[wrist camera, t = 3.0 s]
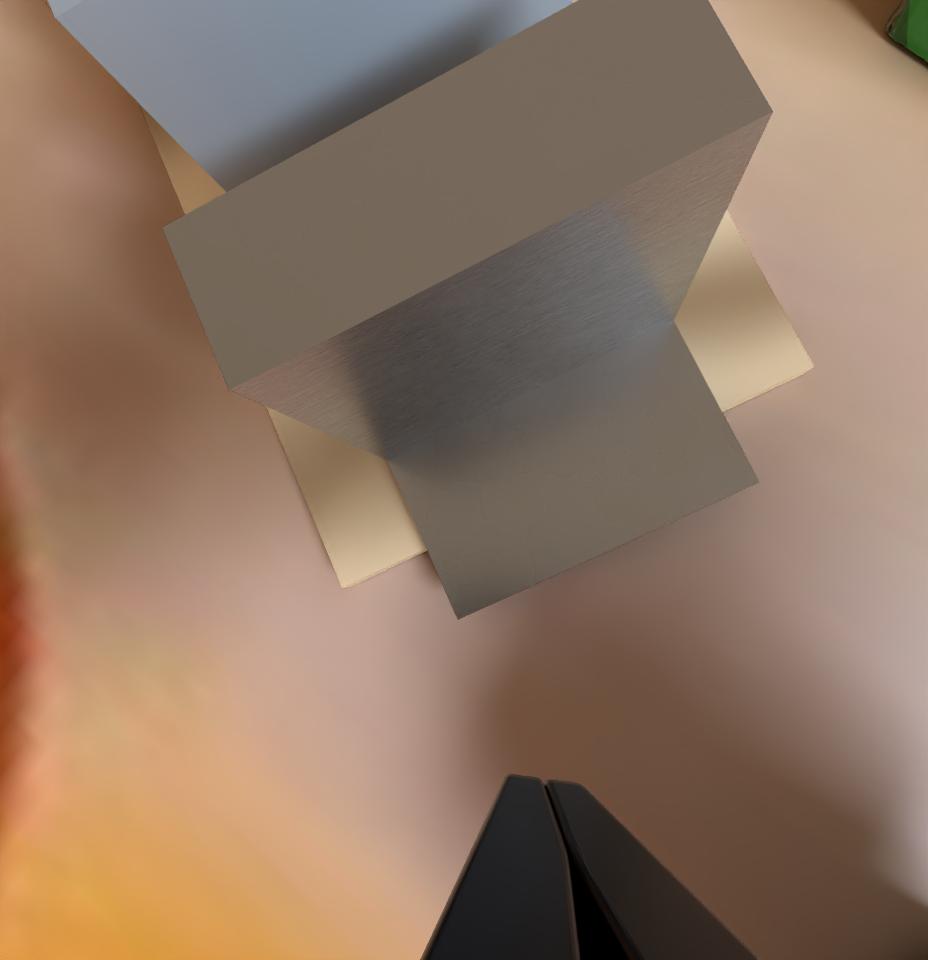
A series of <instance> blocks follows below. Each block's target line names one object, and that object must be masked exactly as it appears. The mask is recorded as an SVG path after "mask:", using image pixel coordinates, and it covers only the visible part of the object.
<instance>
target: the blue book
mask: <svg viewBox="0 0 928 960" xmlns="http://www.w3.org/2000/svg"><path fill="white" fill-rule="evenodd" d="M48 2H49V5H50V7H51V10H52V12H53V15H54V17H55V18H56V19H57V20H58V21H59V22H60V23H61V24H62V26H63V27H64V28H65V29H66V30H67V31H68V32H69V33H70V34H71V35H72V36H73V37H74V38H75V39H76V40H77V41H78V42H79V43H80V44H81V45H82V46H83V47H84V48H85V49H86V50H87V51H88V52H89V53H90V54H91V55H92V56H93V57H94V58H95V59H96V60H97V61H98V62H99V63H100V64H101V65H102V66H103V67H104V68H105V69H106V70H107V71H108V72H109V73H110V74H111V75H112V76H113V77H114V78H115V79H116V80H117V81H118V82H119V84H120V85H121V86H122V87H123V88H124V89H125V90H126V91H127V92H128V93H129V94H130V95H131V96H132V97H133V98H134V99H135V100H136V101H137V102H138V103H139V104H140V105H141V106H142V107H143V108H144V109H145V110H146V111H147V112H148V113H149V114H150V115H151V116H152V117H153V118H154V119H155V120H156V121H157V122H158V123H159V124H160V125H161V126H162V127H163V128H164V129H165V130H166V131H167V132H168V133H169V134H170V135H171V136H172V137H173V138H174V139H175V140H176V141H177V143H178V144H179V145H180V146H181V147H182V148H183V149H184V150H185V151H186V152H187V153H188V154H189V155H190V156H191V157H192V158H193V159H194V160H195V161H196V162H197V163H198V164H199V165H200V166H201V167H202V168H203V169H204V170H205V171H206V172H207V173H208V174H209V175H210V176H211V177H212V178H213V179H214V180H215V181H216V182H217V183H218V184H219V185H220V186H221V187H222V188H223V189H224V190H225V191H226V192H228V191H230V190H232V189H233V188H235V187H237V186H239V185H241V184H242V183H244V182H246V181H248V180H250V179H252V178H253V177H255V176H257V175H259V174H261V173H263V172H264V171H266V170H268V169H270V168H272V167H274V166H275V165H277V164H279V163H281V162H283V161H285V160H286V159H288V158H290V157H292V156H294V155H296V154H297V153H299V152H301V151H303V150H305V149H307V148H308V147H310V146H312V145H314V144H316V143H318V142H319V141H321V140H323V139H325V138H327V137H329V136H330V135H332V134H334V133H336V132H338V131H340V130H341V129H343V128H345V127H347V126H349V125H351V124H352V123H354V122H356V121H358V120H360V119H362V118H363V117H365V116H367V115H369V114H371V113H373V112H374V111H376V110H378V109H380V108H382V107H384V106H385V105H387V104H389V103H391V102H393V101H395V100H396V99H398V98H400V97H402V96H404V95H406V94H407V93H409V92H411V91H413V90H415V89H416V88H418V87H420V86H422V85H424V84H426V83H427V82H429V81H431V80H433V79H435V78H437V77H438V76H440V75H442V74H444V73H446V72H448V71H449V70H451V69H453V68H455V67H457V66H459V65H460V64H462V63H464V62H466V61H468V60H470V59H471V58H473V57H475V56H477V55H479V54H481V53H482V52H484V51H486V50H488V49H490V48H492V47H493V46H495V45H497V44H499V43H501V42H503V41H504V40H506V39H508V38H510V37H512V36H514V35H515V34H517V33H519V32H521V31H523V30H525V29H526V28H528V27H530V26H532V25H534V24H536V23H537V22H539V21H541V20H543V19H545V18H547V17H548V16H550V15H552V14H554V13H556V12H558V11H559V10H561V9H563V8H565V7H567V6H569V5H570V4H572V3H573V0H48Z"/></svg>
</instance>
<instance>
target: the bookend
mask: <svg viewBox="0 0 928 960" xmlns="http://www.w3.org/2000/svg"><path fill="white" fill-rule="evenodd" d="M772 113H773V111H772V109H771V107H770V106H769V104H768V102H767V100H766V99H765V97H764V95H763V94H762V92H761V90H760V88H759V87H758V85H757V83H756V82H755V80H754V78H753V76H752V75H751V73H750V71H749V70H748V68H747V66H746V64H745V63H744V61H743V59H742V58H741V56H740V54H739V52H738V51H737V49H736V47H735V46H734V44H733V42H732V40H731V39H730V37H729V35H728V34H727V32H726V30H725V28H724V27H723V25H722V23H721V22H720V20H719V18H718V16H717V15H716V13H715V11H714V10H713V8H712V6H711V4H710V3H709V1H708V0H578V1H576V2H574V3H572V4H570V5H569V6H567V7H565V8H563V9H561V10H559V11H558V12H556V13H554V14H552V15H550V16H548V17H547V18H545V19H543V20H541V21H539V22H537V23H536V24H534V25H532V26H530V27H528V28H526V29H525V30H523V31H521V32H519V33H517V34H515V35H514V36H512V37H510V38H508V39H506V40H504V41H503V42H501V43H499V44H497V45H495V46H493V47H492V48H490V49H488V50H486V51H484V52H482V53H481V54H479V55H477V56H475V57H473V58H471V59H470V60H468V61H466V62H464V63H462V64H460V65H459V66H457V67H455V68H453V69H451V70H449V71H448V72H446V73H444V74H442V75H440V76H438V77H437V78H435V79H433V80H431V81H429V82H427V83H426V84H424V85H422V86H420V87H418V88H416V89H415V90H413V91H411V92H409V93H407V94H406V95H404V96H402V97H400V98H398V99H396V100H395V101H393V102H391V103H389V104H387V105H385V106H384V107H382V108H380V109H378V110H376V111H374V112H373V113H371V114H369V115H367V116H365V117H363V118H362V119H360V120H358V121H356V122H354V123H352V124H351V125H349V126H347V127H345V128H343V129H341V130H340V131H338V132H336V133H334V134H332V135H330V136H329V137H327V138H325V139H323V140H321V141H319V142H318V143H316V144H314V145H312V146H310V147H308V148H307V149H305V150H303V151H301V152H299V153H297V154H296V155H294V156H292V157H290V158H288V159H286V160H285V161H283V162H281V163H279V164H277V165H275V166H274V167H272V168H270V169H268V170H266V171H264V172H263V173H261V174H259V175H257V176H255V177H253V178H252V179H250V180H248V181H246V182H244V183H242V184H241V185H239V186H237V187H235V188H233V189H232V190H230V191H228V192H226V193H224V194H222V195H221V196H219V197H217V198H215V199H213V200H211V201H210V202H208V203H206V204H204V205H202V206H200V207H199V208H197V209H195V210H193V211H191V212H189V213H188V214H186V215H184V216H182V217H180V218H178V219H177V220H175V221H173V222H171V223H169V224H167V225H166V226H164V227H162V229H163V232H164V234H165V236H166V239H167V241H168V244H169V246H170V249H171V251H172V253H173V256H174V258H175V261H176V263H177V265H178V268H179V270H180V273H181V275H182V278H183V280H184V282H185V285H186V287H187V290H188V292H189V294H190V297H191V299H192V302H193V304H194V307H195V309H196V311H197V314H198V316H199V319H200V321H201V323H202V326H203V328H204V331H205V333H206V336H207V338H208V340H209V343H210V345H211V348H212V350H213V352H214V355H215V357H216V360H217V362H218V365H219V367H220V369H221V372H222V374H223V377H224V379H225V382H226V384H227V386H228V389H229V390H230V391H232V392H234V393H237V394H239V395H241V396H243V397H246V398H248V399H250V400H252V401H255V402H257V403H259V404H261V405H264V406H266V407H268V408H270V409H273V410H275V411H277V412H279V413H282V414H284V415H286V416H288V417H291V418H293V419H295V420H297V421H300V422H302V423H304V424H306V425H309V426H311V427H313V428H315V429H318V430H320V431H322V432H324V433H327V434H329V435H331V436H334V437H336V438H338V439H340V440H343V441H345V442H347V443H349V444H352V445H354V446H356V447H358V448H361V449H363V450H365V451H367V452H370V453H372V454H374V455H376V456H379V457H381V458H383V459H385V460H387V461H388V463H389V466H390V468H391V470H392V472H393V475H394V477H395V479H396V481H397V484H398V486H399V488H400V490H401V493H402V495H403V497H404V499H405V502H406V504H407V506H408V508H409V511H410V513H411V515H412V517H413V520H414V522H415V524H416V526H417V529H418V531H419V533H420V535H421V538H422V540H423V542H424V544H425V547H426V549H427V551H428V553H429V556H430V558H431V560H432V562H433V565H434V567H435V569H436V571H437V574H438V576H439V578H440V580H441V583H442V585H443V587H444V589H445V592H446V594H447V596H448V598H449V601H450V603H451V605H452V607H453V610H454V612H455V614H456V616H457V619H460V618H463V617H465V616H467V615H469V614H471V613H473V612H476V611H478V610H480V609H482V608H484V607H487V606H489V605H491V604H493V603H495V602H498V601H500V600H502V599H504V598H506V597H509V596H511V595H513V594H515V593H517V592H520V591H522V590H524V589H526V588H528V587H531V586H533V585H535V584H537V583H539V582H542V581H544V580H546V579H548V578H550V577H552V576H555V575H557V574H559V573H561V572H563V571H566V570H568V569H570V568H572V567H574V566H577V565H579V564H581V563H583V562H585V561H588V560H590V559H592V558H594V557H596V556H599V555H601V554H603V553H605V552H607V551H610V550H612V549H614V548H616V547H618V546H621V545H623V544H625V543H627V542H629V541H632V540H634V539H636V538H638V537H640V536H642V535H645V534H647V533H649V532H651V531H653V530H656V529H658V528H660V527H662V526H664V525H667V524H669V523H671V522H673V521H675V520H678V519H680V518H682V517H684V516H686V515H689V514H691V513H693V512H695V511H697V510H700V509H702V508H704V507H706V506H708V505H711V504H713V503H715V502H717V501H719V500H721V499H724V498H726V497H728V496H730V495H732V494H735V493H737V492H739V491H741V490H743V489H746V488H748V487H750V486H752V485H754V484H757V483H759V481H758V479H757V477H756V475H755V473H754V471H753V469H752V467H751V465H750V464H749V462H748V460H747V458H746V456H745V454H744V452H743V450H742V448H741V447H740V445H739V443H738V441H737V439H736V437H735V435H734V433H733V431H732V430H731V428H730V426H729V424H728V422H727V420H726V418H725V416H724V414H723V413H722V411H721V409H720V407H719V405H718V403H717V401H716V399H715V397H714V396H713V394H712V392H711V390H710V388H709V386H708V384H707V382H706V380H705V379H704V377H703V375H702V373H701V371H700V369H699V367H698V365H697V363H696V362H695V360H694V358H693V356H692V354H691V352H690V350H689V348H688V346H687V345H686V343H685V341H684V339H683V337H682V335H681V333H680V331H679V329H678V327H677V326H676V324H675V322H674V319H675V317H676V315H677V313H678V311H679V309H680V307H681V305H682V302H683V300H684V298H685V296H686V294H687V292H688V290H689V288H690V286H691V283H692V281H693V279H694V277H695V275H696V273H697V271H698V269H699V267H700V264H701V262H702V260H703V258H704V256H705V254H706V252H707V250H708V248H709V245H710V243H711V241H712V239H713V237H714V235H715V233H716V231H717V229H718V226H719V224H720V222H721V220H722V218H723V216H724V214H725V212H726V210H727V208H728V205H729V203H730V201H731V199H732V197H733V195H734V193H735V191H736V189H737V186H738V184H739V182H740V180H741V178H742V176H743V174H744V172H745V170H746V167H747V165H748V163H749V161H750V159H751V157H752V155H753V153H754V151H755V148H756V146H757V144H758V142H759V140H760V138H761V136H762V134H763V132H764V129H765V127H766V125H767V123H768V121H769V119H770V117H771V115H772Z"/></svg>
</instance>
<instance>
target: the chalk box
mask: <svg viewBox="0 0 928 960" xmlns="http://www.w3.org/2000/svg"><path fill="white" fill-rule="evenodd" d="M885 31H886V32H887V34H888V35H889V36H890V37H891V38H892V39H893V40H894V41H896V42H898V43H900V44H902V45H903V46H904V47H905V48H907V49H909V50H910V51H912V52H913V53H915V54H916V55H918V56H920V57H922V58H923V59H924V60H925V61H926V62H928V0H902V2H901V3H900V5H899V6H898V8H897V9H896V10H895V12H894V13H893V14H892V16H891V17H890V19H889V20H888V22H887V24H886V28H885Z"/></svg>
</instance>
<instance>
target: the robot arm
mask: <svg viewBox="0 0 928 960" xmlns="http://www.w3.org/2000/svg"><path fill="white" fill-rule="evenodd" d="M420 960H760V959H759V958H758V957H757V956H756V955H755V954H754V953H753V952H752V951H751V950H750V949H749V948H748V947H747V946H746V945H745V944H744V943H742V942H741V941H740V940H739V939H738V938H737V937H736V936H735V935H734V934H733V933H732V932H731V931H730V930H729V929H728V928H727V927H726V926H725V925H724V924H723V923H722V922H721V921H720V920H719V919H718V918H717V917H716V916H715V915H714V914H713V913H712V912H711V911H710V910H709V909H708V908H707V907H706V906H705V905H704V904H703V903H702V902H701V901H700V900H699V899H698V898H697V897H696V896H695V895H694V894H693V893H692V892H691V891H690V890H688V889H687V888H686V887H685V886H684V885H683V884H682V883H681V882H680V881H679V880H678V879H677V878H676V877H675V876H674V875H673V874H672V873H671V872H670V871H669V870H668V869H667V868H666V867H665V866H664V865H663V864H662V863H661V862H660V861H659V860H658V859H657V858H656V857H655V856H654V855H653V854H652V853H651V852H650V851H649V850H648V849H647V848H646V847H645V846H644V845H643V844H642V843H641V842H640V841H639V840H638V839H637V838H636V837H634V836H633V835H632V834H631V833H630V832H629V831H628V830H627V829H626V828H625V827H624V826H623V825H622V824H621V823H620V822H619V821H618V820H617V819H616V818H615V817H614V816H613V815H612V814H611V813H610V812H609V811H608V810H607V809H606V808H605V807H604V806H603V805H602V804H601V803H600V802H599V801H598V800H597V799H596V798H595V797H594V796H593V795H592V794H591V793H590V792H589V791H588V790H587V789H586V788H585V787H583V786H582V785H580V784H578V783H574V782H566V781H559V780H547V781H545V782H544V783H543V781H542V780H541V779H539V778H536V777H529V776H521V775H514V774H509V775H507V776H506V777H505V778H504V780H503V782H502V784H501V787H500V789H499V791H498V793H497V795H496V797H495V800H494V802H493V804H492V806H491V808H490V810H489V813H488V815H487V817H486V819H485V821H484V823H483V826H482V828H481V830H480V832H479V834H478V836H477V839H476V841H475V843H474V845H473V847H472V849H471V851H470V854H469V856H468V858H467V860H466V862H465V864H464V867H463V869H462V871H461V873H460V875H459V877H458V880H457V882H456V884H455V886H454V888H453V890H452V892H451V895H450V897H449V899H448V901H447V903H446V905H445V908H444V910H443V912H442V914H441V916H440V918H439V921H438V923H437V925H436V927H435V929H434V931H433V933H432V936H431V938H430V940H429V942H428V944H427V946H426V949H425V951H424V953H423V955H422V957H421V959H420Z"/></svg>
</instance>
